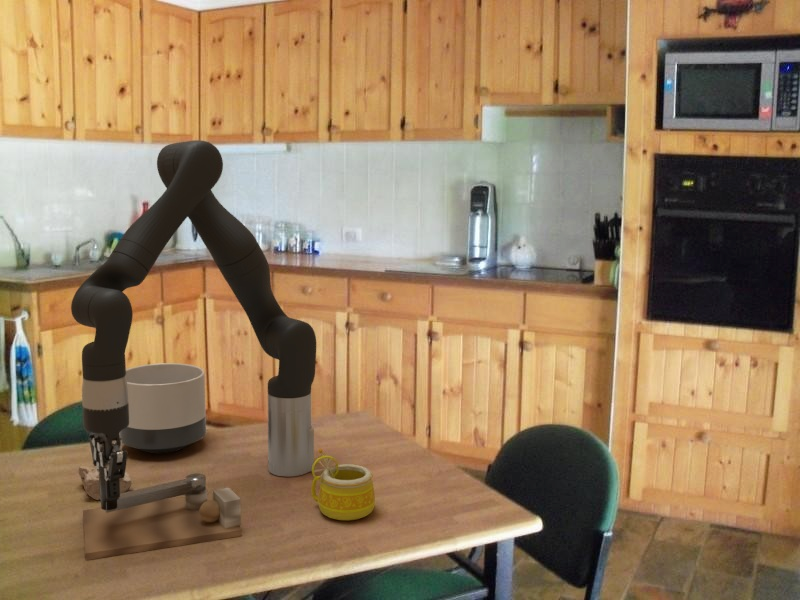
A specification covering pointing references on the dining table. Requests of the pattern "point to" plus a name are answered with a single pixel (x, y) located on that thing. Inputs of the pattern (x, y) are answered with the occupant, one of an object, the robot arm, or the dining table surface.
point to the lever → (151, 492)
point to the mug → (344, 490)
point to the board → (162, 524)
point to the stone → (92, 481)
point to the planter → (165, 407)
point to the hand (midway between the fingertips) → (109, 495)
